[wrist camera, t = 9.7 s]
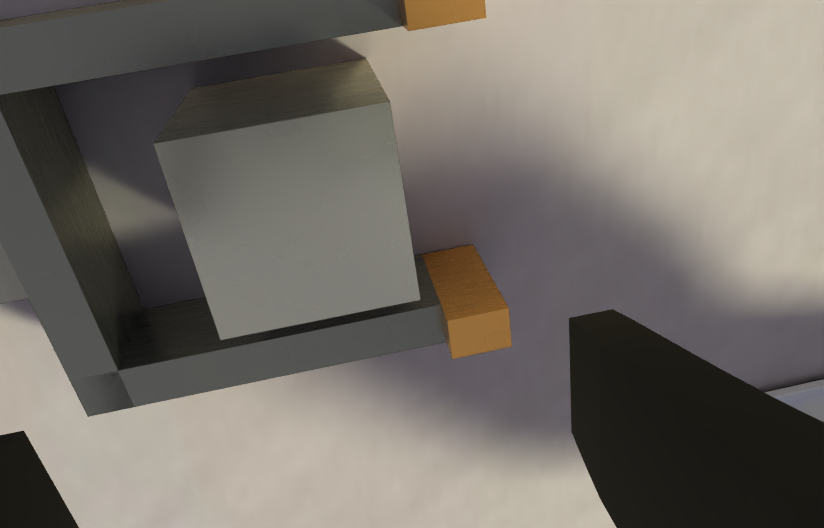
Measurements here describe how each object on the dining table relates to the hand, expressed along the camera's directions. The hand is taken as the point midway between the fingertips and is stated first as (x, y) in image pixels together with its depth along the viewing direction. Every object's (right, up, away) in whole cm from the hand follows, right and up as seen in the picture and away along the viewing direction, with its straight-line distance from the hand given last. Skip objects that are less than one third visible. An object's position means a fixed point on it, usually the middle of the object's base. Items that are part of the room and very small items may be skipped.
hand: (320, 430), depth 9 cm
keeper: (-4, +5, +9) cm, 11 cm away
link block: (-2, +5, +9) cm, 11 cm away
